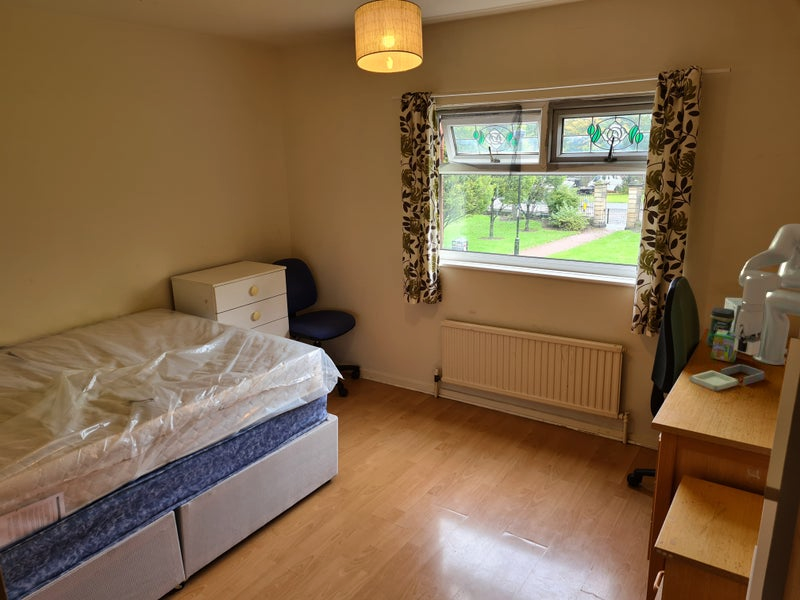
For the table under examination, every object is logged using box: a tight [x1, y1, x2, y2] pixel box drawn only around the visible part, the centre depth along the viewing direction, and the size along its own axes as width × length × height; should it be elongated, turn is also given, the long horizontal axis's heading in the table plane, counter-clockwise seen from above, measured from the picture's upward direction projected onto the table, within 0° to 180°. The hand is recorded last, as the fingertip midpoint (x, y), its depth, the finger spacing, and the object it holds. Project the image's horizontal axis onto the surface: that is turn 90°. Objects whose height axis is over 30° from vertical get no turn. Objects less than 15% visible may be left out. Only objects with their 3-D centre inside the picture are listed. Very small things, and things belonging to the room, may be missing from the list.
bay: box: [720, 363, 766, 386], centre depth 220 cm, size 13×10×3 cm
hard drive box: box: [723, 297, 745, 334], centre depth 260 cm, size 16×8×20 cm, turn 168°
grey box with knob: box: [734, 333, 761, 356], centre depth 217 cm, size 5×7×7 cm
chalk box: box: [710, 326, 738, 363], centre depth 240 cm, size 9×9×15 cm
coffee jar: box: [706, 306, 735, 348], centre depth 254 cm, size 10×8×19 cm
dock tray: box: [689, 370, 739, 392], centre depth 216 cm, size 13×11×2 cm
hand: (746, 349), depth 217 cm, fingers closed on grey box with knob, 5 cm apart
